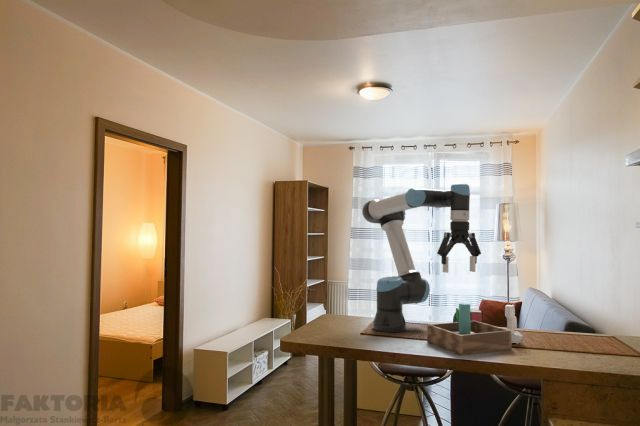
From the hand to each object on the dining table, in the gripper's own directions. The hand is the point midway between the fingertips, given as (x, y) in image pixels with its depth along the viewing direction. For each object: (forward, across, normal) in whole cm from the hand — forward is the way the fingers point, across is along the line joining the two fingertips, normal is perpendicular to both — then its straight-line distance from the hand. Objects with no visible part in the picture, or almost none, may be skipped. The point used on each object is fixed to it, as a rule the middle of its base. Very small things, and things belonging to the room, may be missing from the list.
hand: (459, 272), depth 178 cm
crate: (+28, -2, -9) cm, 29 cm away
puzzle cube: (+28, +13, +9) cm, 33 cm away
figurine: (+28, +18, -10) cm, 35 cm away
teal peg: (+27, -2, -7) cm, 28 cm away
